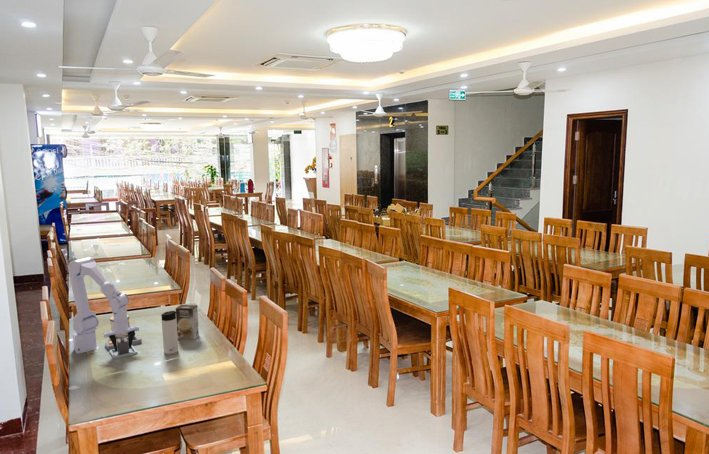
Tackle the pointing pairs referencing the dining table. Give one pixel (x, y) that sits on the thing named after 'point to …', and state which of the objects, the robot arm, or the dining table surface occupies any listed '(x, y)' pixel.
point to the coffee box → (187, 322)
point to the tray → (115, 354)
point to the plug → (122, 346)
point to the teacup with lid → (113, 326)
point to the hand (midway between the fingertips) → (123, 348)
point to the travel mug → (169, 332)
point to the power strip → (136, 338)
